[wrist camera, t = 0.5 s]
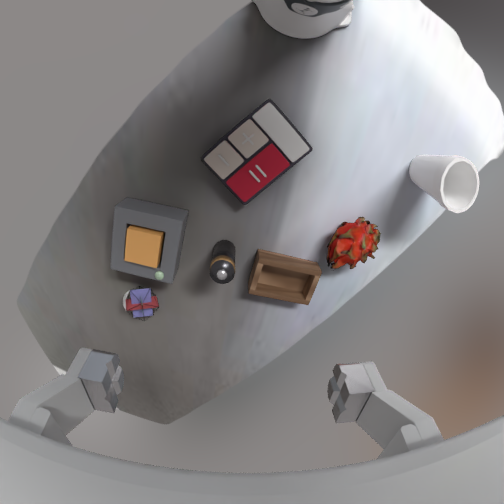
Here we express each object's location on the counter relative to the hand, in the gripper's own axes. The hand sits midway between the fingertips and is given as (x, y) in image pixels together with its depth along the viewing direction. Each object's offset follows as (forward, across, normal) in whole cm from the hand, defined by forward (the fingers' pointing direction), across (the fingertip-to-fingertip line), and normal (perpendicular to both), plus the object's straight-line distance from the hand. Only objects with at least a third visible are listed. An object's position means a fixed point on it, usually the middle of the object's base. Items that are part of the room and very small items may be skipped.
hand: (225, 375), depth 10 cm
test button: (+40, +15, +12) cm, 45 cm away
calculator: (+45, -3, -4) cm, 45 cm away
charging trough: (+44, -10, +18) cm, 49 cm away
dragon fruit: (+44, -22, +10) cm, 51 cm away
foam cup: (+44, -36, -5) cm, 57 cm away
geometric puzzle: (+45, +18, +26) cm, 54 cm away
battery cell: (+44, +1, +14) cm, 47 cm away
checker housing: (+44, +15, +12) cm, 48 cm away
